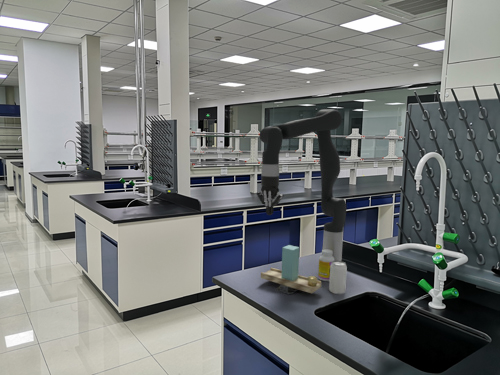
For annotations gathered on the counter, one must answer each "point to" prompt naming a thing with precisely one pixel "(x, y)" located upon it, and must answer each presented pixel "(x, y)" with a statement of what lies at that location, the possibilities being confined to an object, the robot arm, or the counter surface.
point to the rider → (290, 262)
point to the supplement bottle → (325, 265)
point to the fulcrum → (286, 289)
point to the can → (338, 277)
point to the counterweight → (312, 281)
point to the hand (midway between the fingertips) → (269, 214)
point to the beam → (298, 283)
